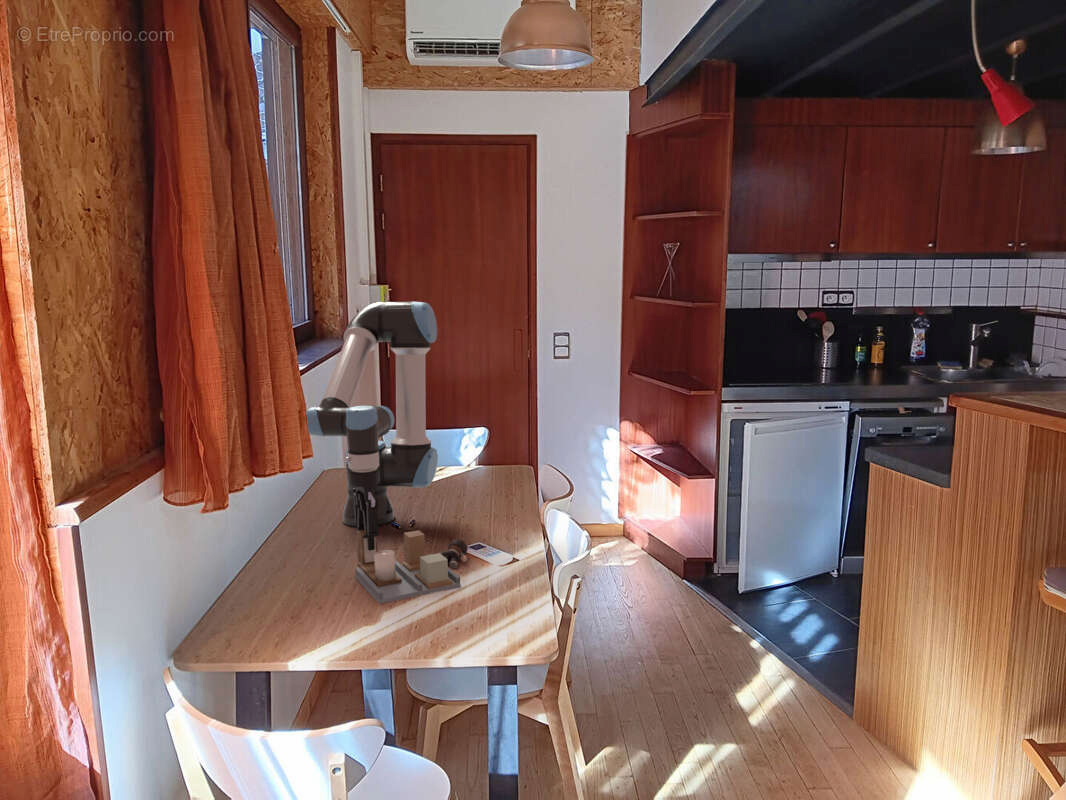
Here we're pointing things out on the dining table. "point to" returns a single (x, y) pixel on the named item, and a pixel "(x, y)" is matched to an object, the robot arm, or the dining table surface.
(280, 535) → the dining table surface
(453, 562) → the figurine
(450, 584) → the lane board
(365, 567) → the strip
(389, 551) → the cream rounded capsule
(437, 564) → the sage block
